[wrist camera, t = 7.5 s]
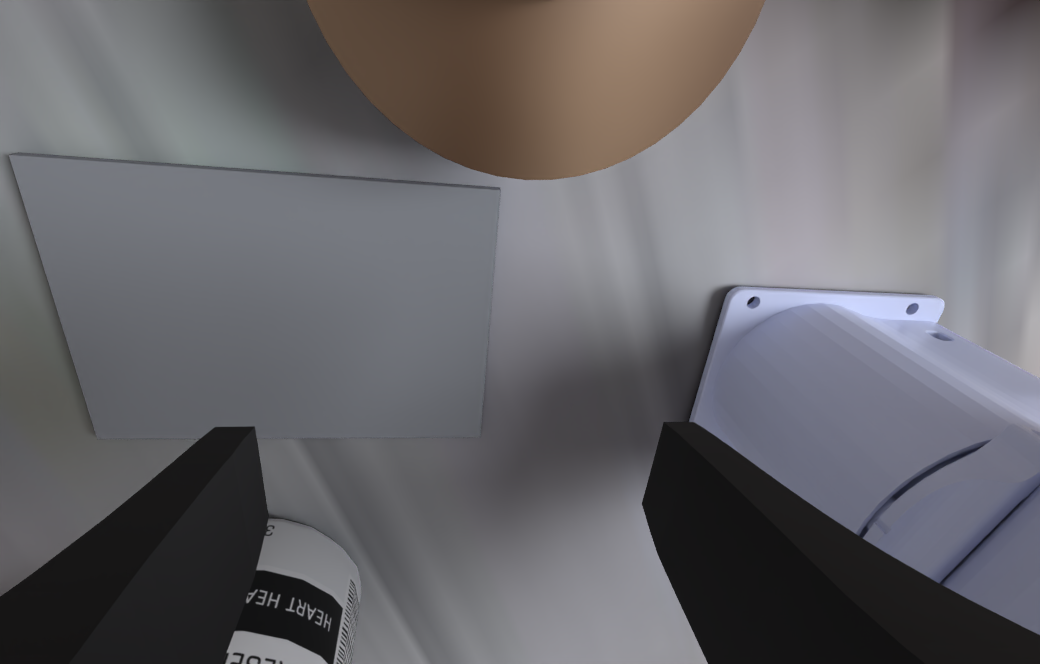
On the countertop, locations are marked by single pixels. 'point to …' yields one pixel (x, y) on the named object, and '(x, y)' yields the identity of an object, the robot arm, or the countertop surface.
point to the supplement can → (298, 601)
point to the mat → (266, 297)
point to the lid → (536, 73)
